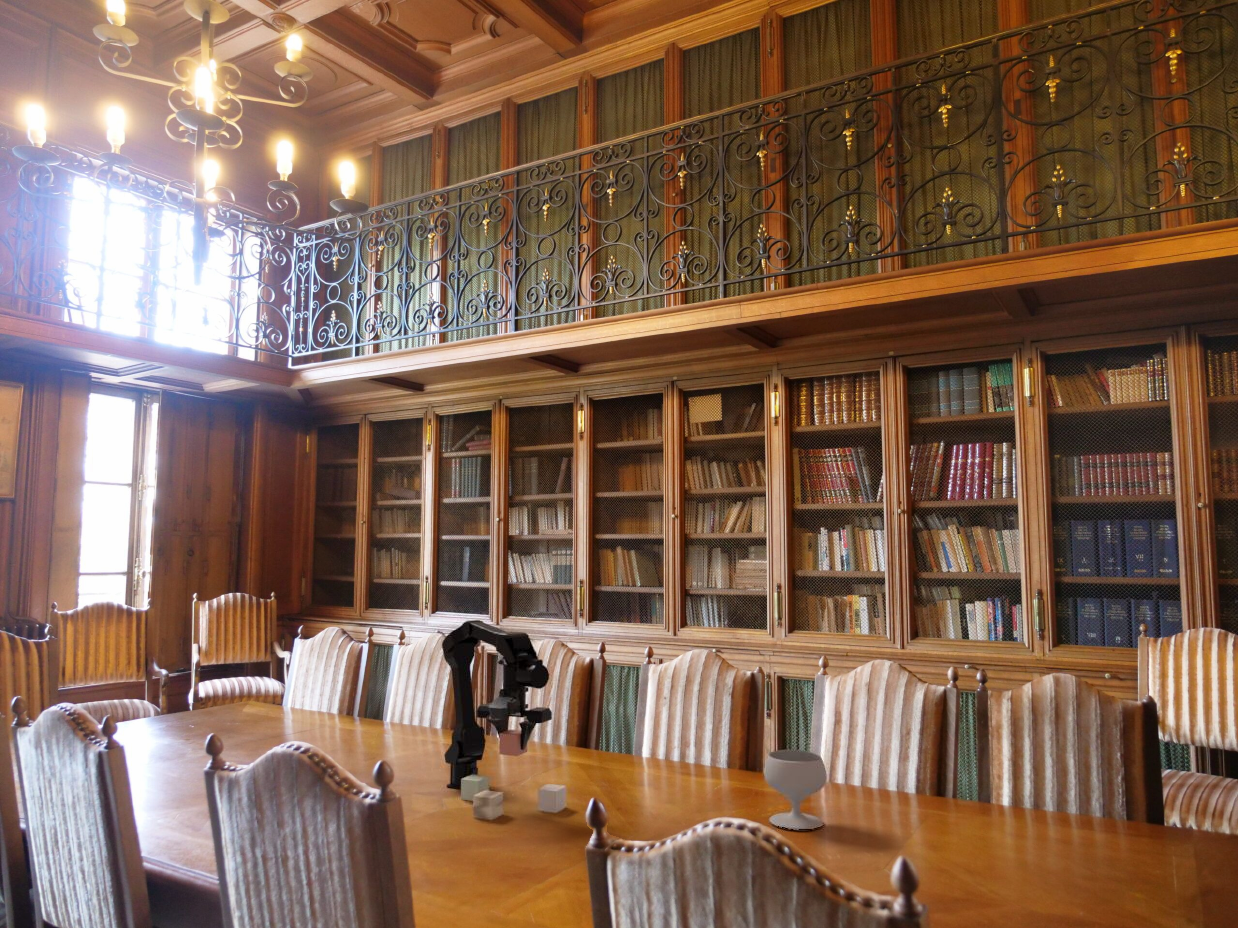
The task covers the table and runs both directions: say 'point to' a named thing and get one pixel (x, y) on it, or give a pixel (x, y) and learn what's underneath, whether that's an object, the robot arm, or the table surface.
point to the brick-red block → (511, 743)
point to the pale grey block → (552, 798)
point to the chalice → (795, 784)
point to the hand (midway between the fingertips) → (513, 748)
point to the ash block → (488, 805)
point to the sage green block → (473, 786)
